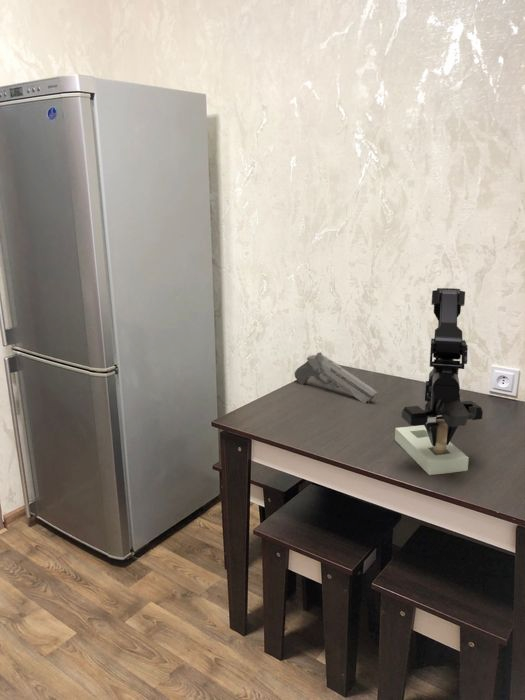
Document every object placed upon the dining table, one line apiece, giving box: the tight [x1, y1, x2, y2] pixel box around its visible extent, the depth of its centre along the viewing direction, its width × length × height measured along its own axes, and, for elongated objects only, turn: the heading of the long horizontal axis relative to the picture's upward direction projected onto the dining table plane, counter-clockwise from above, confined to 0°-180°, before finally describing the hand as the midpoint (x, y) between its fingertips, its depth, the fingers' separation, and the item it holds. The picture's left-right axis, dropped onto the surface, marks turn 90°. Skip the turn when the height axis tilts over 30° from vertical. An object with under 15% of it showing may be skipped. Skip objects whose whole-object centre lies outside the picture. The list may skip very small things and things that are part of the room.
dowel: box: [433, 419, 448, 455], centre depth 139 cm, size 3×3×10 cm
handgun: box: [294, 351, 378, 404], centre depth 189 cm, size 31×3×15 cm, turn 47°
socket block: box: [394, 425, 470, 476], centre depth 145 cm, size 20×10×4 cm, turn 11°
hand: (439, 445), depth 139 cm, fingers open, 3 cm apart
